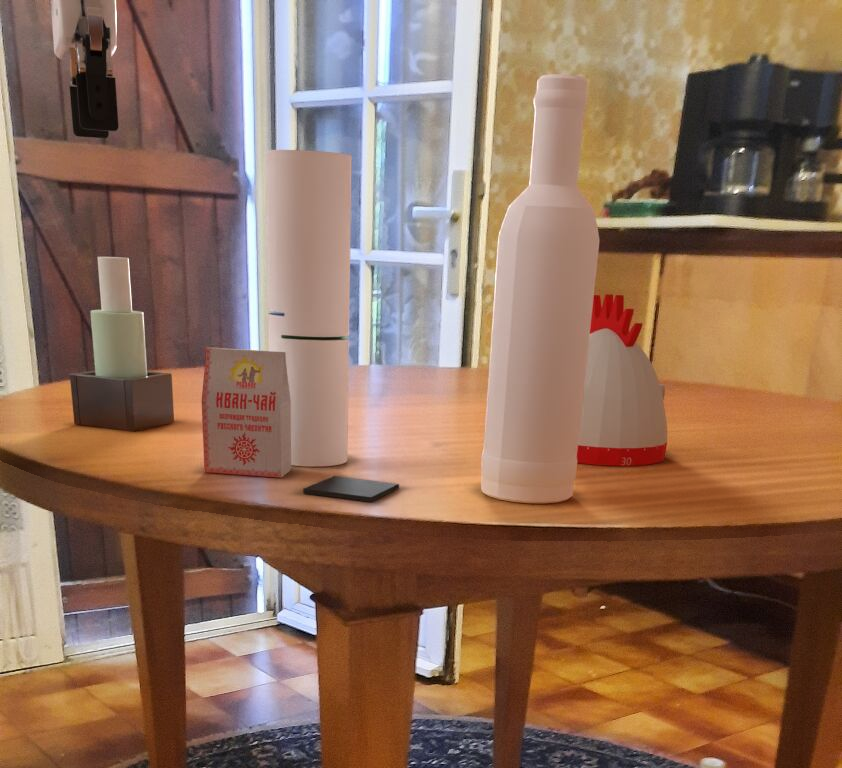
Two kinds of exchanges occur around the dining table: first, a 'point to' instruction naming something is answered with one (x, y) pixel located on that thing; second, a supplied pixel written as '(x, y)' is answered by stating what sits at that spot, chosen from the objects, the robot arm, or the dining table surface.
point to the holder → (122, 400)
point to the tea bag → (246, 413)
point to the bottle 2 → (542, 312)
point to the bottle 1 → (117, 324)
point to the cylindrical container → (311, 295)
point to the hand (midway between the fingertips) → (95, 133)
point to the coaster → (351, 488)
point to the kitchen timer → (620, 393)
